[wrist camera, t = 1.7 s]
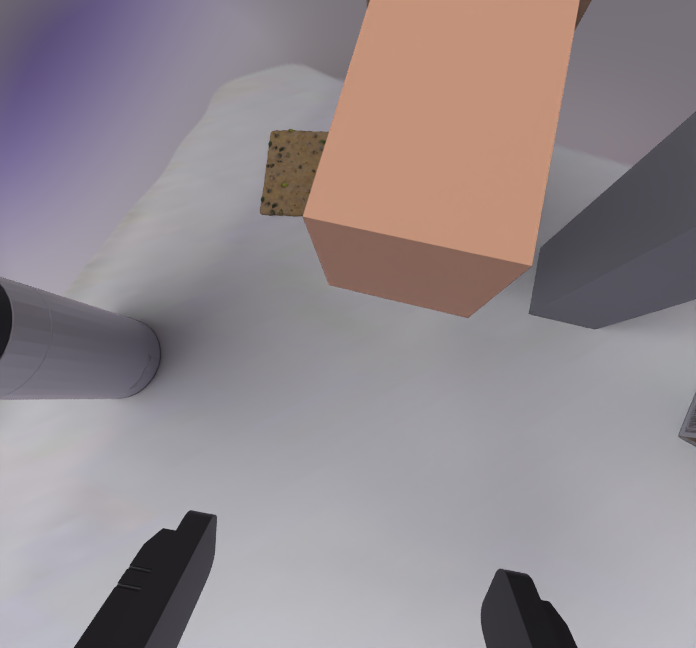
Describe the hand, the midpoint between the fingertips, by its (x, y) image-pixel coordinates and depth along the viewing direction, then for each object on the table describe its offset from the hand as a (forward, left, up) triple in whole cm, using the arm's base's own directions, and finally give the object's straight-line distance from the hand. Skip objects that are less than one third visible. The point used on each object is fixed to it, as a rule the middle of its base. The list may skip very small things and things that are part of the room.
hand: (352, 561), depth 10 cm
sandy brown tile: (-19, +26, -29) cm, 44 cm away
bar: (-4, +20, +4) cm, 21 cm away
